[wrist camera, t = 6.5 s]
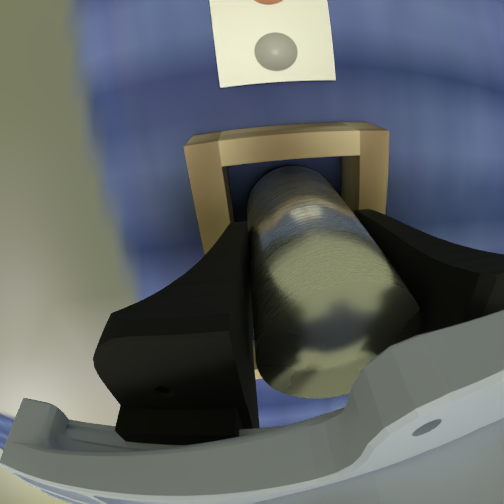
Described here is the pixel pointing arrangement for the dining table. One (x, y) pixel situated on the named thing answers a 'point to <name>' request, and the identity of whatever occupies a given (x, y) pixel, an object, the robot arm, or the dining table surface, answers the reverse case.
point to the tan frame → (283, 148)
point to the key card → (272, 41)
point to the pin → (319, 287)
